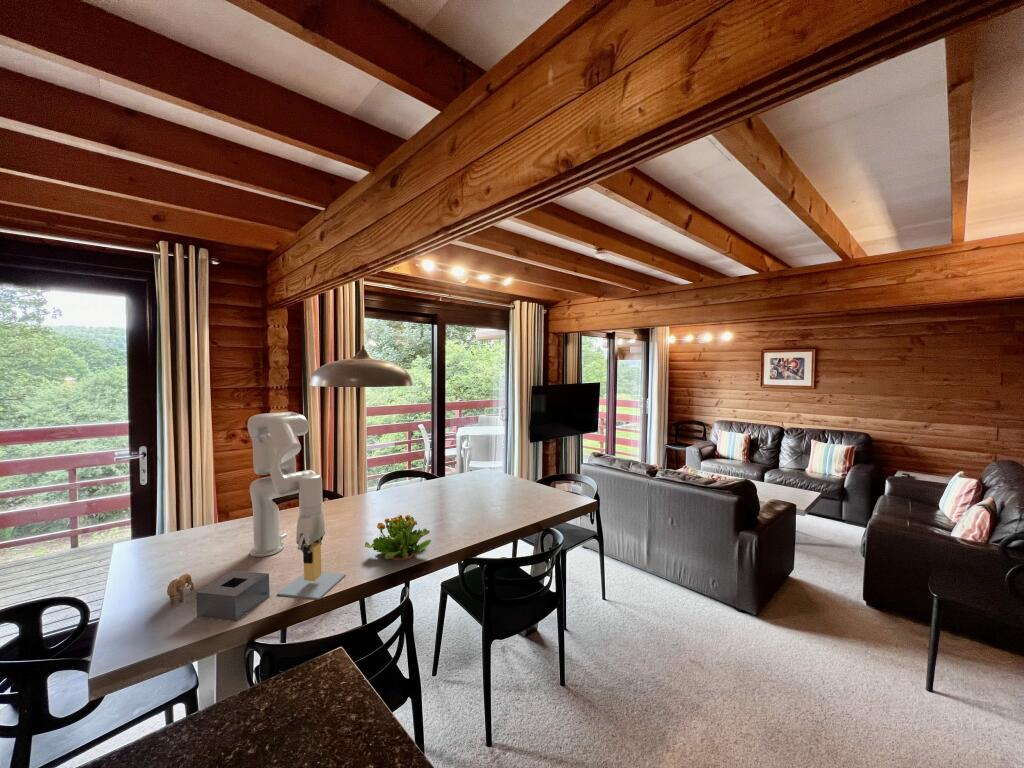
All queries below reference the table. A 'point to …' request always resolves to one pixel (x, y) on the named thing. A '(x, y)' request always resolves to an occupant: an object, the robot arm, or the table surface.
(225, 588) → the hole block
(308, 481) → the robot arm
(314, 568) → the peg
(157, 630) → the table surface
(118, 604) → the table surface
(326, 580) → the mat
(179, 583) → the brown animal figure
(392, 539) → the potted flower
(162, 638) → the table surface
